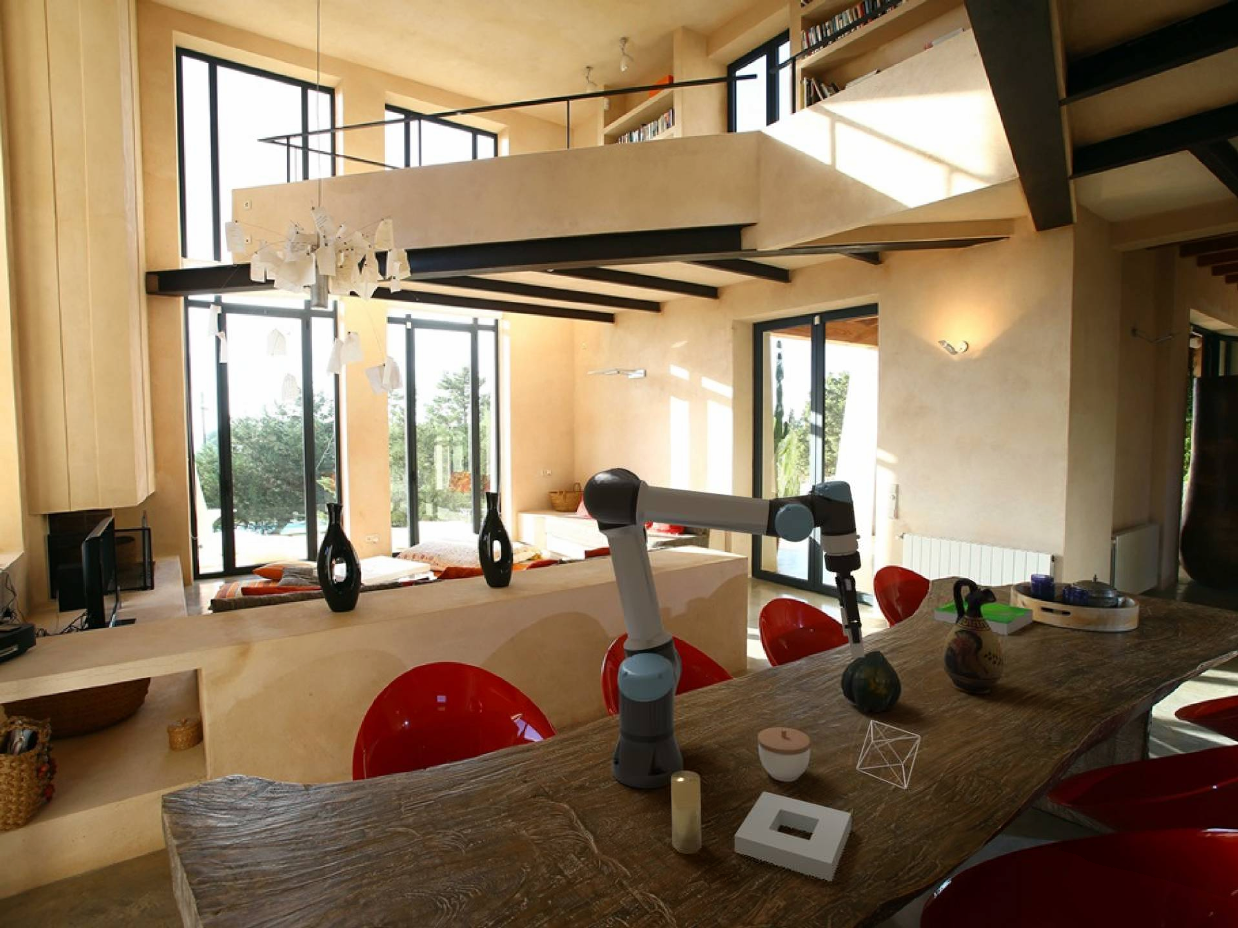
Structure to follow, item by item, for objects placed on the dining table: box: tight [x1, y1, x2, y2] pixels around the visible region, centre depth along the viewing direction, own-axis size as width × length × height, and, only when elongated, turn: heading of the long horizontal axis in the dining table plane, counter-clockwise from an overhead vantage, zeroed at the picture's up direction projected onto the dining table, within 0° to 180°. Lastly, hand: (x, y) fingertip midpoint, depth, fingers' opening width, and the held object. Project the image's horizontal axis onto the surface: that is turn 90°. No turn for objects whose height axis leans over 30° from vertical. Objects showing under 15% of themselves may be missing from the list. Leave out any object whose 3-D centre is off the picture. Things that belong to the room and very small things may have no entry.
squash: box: [840, 650, 902, 713], centre depth 172 cm, size 14×15×15 cm
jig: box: [734, 791, 852, 882], centre depth 115 cm, size 16×16×3 cm
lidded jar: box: [757, 726, 811, 782], centre depth 138 cm, size 11×11×9 cm
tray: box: [933, 597, 1034, 636], centre depth 248 cm, size 25×25×5 cm
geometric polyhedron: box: [856, 719, 922, 790], centre depth 138 cm, size 12×11×9 cm
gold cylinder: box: [670, 770, 702, 853], centre depth 115 cm, size 5×5×12 cm
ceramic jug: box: [941, 577, 1005, 695], centre depth 184 cm, size 17×15×30 cm
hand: (853, 645), depth 147 cm, fingers open, 13 cm apart
